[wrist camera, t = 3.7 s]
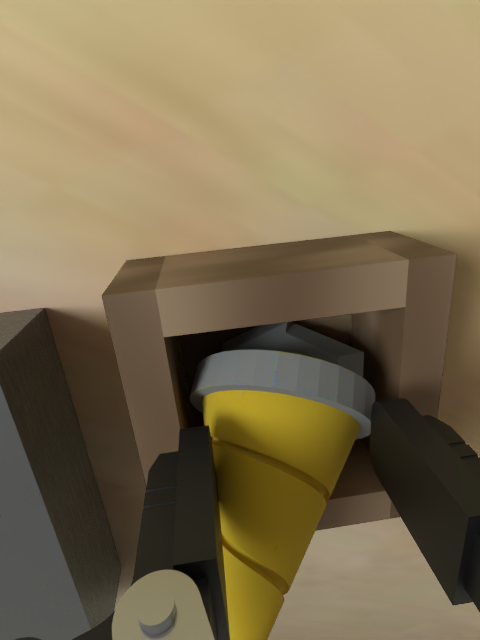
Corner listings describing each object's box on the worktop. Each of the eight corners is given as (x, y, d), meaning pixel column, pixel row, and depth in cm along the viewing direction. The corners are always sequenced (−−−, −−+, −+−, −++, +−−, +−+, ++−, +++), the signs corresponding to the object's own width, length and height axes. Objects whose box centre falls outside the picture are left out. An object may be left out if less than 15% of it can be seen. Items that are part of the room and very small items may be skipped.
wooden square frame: (390, 231, 13) (456, 254, 9) (378, 441, 16) (425, 512, 13) (126, 260, 12) (101, 295, 9) (169, 472, 15) (162, 555, 12)
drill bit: (379, 344, 14) (371, 699, 10) (244, 340, 16) (185, 636, 12) (374, 253, 10) (355, 812, 6) (190, 262, 12) (65, 683, 8)
